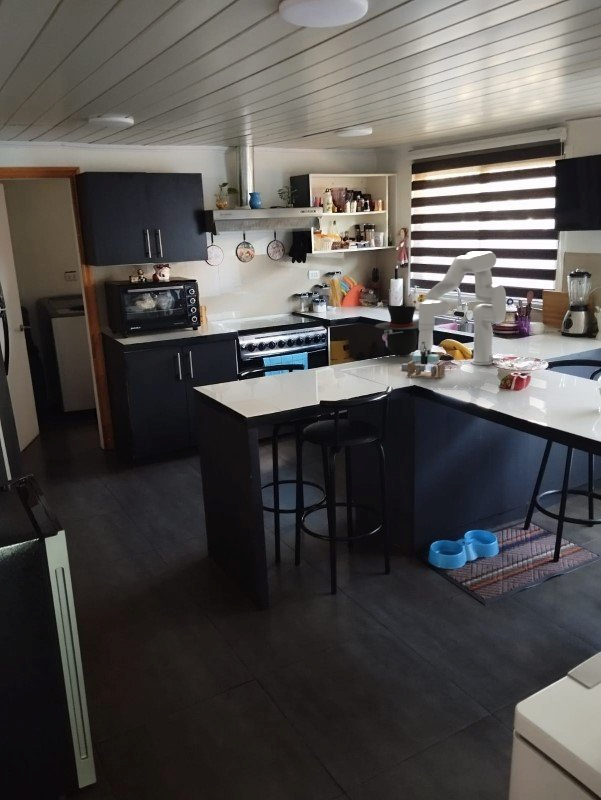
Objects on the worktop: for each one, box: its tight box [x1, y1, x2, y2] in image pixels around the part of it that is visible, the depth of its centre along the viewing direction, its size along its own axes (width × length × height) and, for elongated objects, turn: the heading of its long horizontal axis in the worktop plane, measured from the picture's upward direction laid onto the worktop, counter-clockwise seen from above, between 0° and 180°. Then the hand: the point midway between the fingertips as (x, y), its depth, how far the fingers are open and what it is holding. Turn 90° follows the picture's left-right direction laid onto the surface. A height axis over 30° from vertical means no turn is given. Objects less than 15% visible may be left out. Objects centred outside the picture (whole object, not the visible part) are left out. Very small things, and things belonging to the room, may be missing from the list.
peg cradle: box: [406, 359, 446, 380], centre depth 313 cm, size 17×9×7 cm, turn 63°
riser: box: [401, 363, 427, 372], centre depth 327 cm, size 12×3×3 cm, turn 63°
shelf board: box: [412, 352, 440, 364], centre depth 311 cm, size 12×6×3 cm, turn 63°
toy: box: [374, 305, 419, 357], centre depth 362 cm, size 31×31×30 cm
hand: (425, 362), depth 312 cm, fingers closed on shelf board, 5 cm apart
